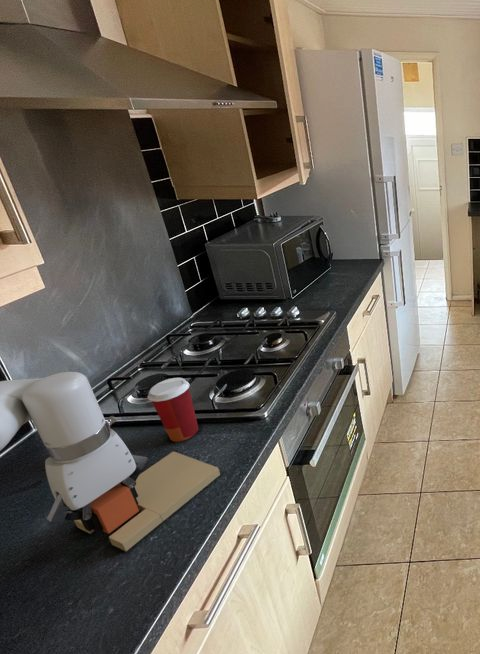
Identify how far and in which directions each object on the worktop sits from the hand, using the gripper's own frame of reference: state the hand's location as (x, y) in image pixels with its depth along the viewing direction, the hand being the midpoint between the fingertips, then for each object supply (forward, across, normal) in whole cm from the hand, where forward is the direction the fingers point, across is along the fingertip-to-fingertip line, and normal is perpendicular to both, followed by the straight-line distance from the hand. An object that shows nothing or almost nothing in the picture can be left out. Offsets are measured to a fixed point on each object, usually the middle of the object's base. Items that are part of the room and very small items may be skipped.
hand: (114, 515), depth 78 cm
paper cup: (+3, -21, -13) cm, 25 cm away
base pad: (+3, -6, 0) cm, 7 cm away
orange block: (+1, 0, 0) cm, 1 cm away
